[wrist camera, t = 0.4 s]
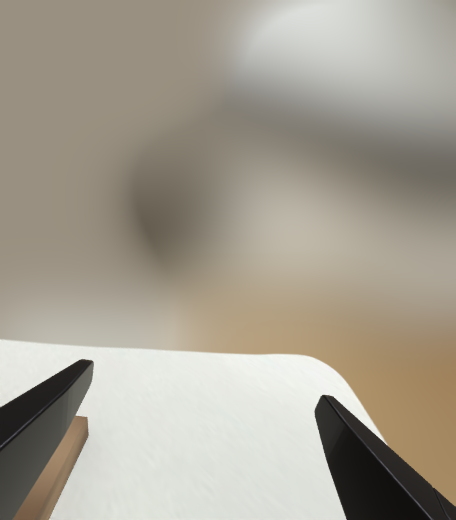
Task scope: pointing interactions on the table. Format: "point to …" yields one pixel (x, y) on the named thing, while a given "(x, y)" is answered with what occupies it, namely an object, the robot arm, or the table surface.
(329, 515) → the table surface
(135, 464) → the table surface
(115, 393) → the table surface
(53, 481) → the holder
